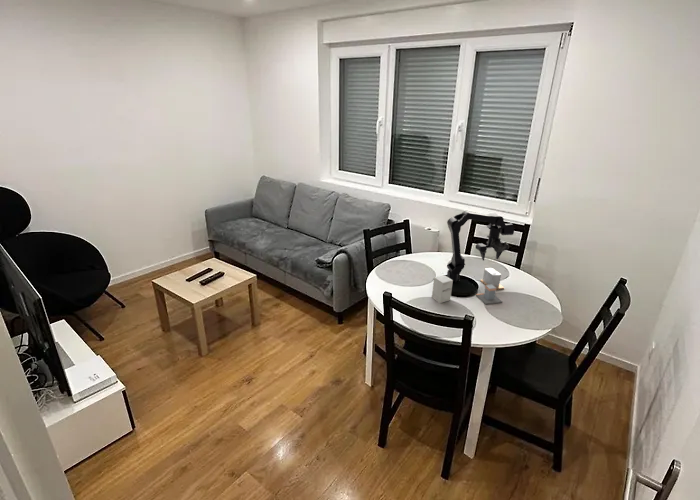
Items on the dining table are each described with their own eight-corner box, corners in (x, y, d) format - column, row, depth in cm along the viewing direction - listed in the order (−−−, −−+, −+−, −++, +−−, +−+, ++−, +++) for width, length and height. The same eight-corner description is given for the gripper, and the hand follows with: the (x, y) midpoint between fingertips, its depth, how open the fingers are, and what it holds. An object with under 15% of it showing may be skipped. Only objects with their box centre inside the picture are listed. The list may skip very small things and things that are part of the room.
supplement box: (440, 303, 206) (442, 282, 201) (431, 297, 212) (433, 277, 207) (450, 300, 209) (453, 280, 204) (441, 294, 215) (444, 274, 210)
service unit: (491, 290, 220) (494, 276, 216) (480, 281, 230) (482, 267, 227) (503, 289, 222) (506, 275, 218) (491, 280, 232) (494, 266, 229)
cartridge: (483, 296, 212) (485, 285, 209) (490, 295, 213) (492, 284, 210) (487, 300, 208) (489, 288, 206) (494, 299, 209) (496, 288, 207)
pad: (485, 304, 205) (486, 303, 205) (475, 295, 214) (476, 294, 214) (502, 302, 208) (502, 301, 207) (491, 293, 217) (491, 292, 216)
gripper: (487, 241, 213) (483, 266, 219) (516, 239, 217) (511, 263, 223) (476, 234, 223) (473, 258, 229) (505, 232, 227) (501, 256, 233)
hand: (490, 259), depth 228 cm, fingers open, 9 cm apart
